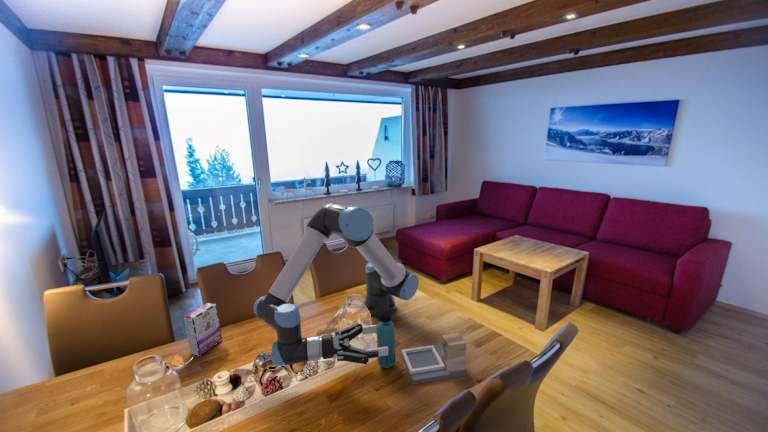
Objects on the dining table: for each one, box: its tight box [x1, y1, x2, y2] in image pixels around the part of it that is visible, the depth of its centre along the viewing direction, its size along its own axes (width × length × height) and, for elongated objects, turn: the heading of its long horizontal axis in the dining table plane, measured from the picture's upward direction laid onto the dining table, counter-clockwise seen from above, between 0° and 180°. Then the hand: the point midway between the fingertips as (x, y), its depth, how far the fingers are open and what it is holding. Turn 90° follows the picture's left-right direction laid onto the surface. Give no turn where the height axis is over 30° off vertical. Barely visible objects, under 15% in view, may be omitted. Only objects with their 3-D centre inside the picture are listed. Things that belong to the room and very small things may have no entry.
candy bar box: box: [183, 302, 223, 357], centre depth 128 cm, size 11×5×16 cm, turn 161°
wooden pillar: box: [441, 332, 467, 372], centre depth 112 cm, size 6×6×10 cm
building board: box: [400, 344, 469, 385], centre depth 116 cm, size 16×19×2 cm
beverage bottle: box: [375, 312, 397, 368], centre depth 114 cm, size 6×7×20 cm
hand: (384, 338), depth 114 cm, fingers open, 13 cm apart
